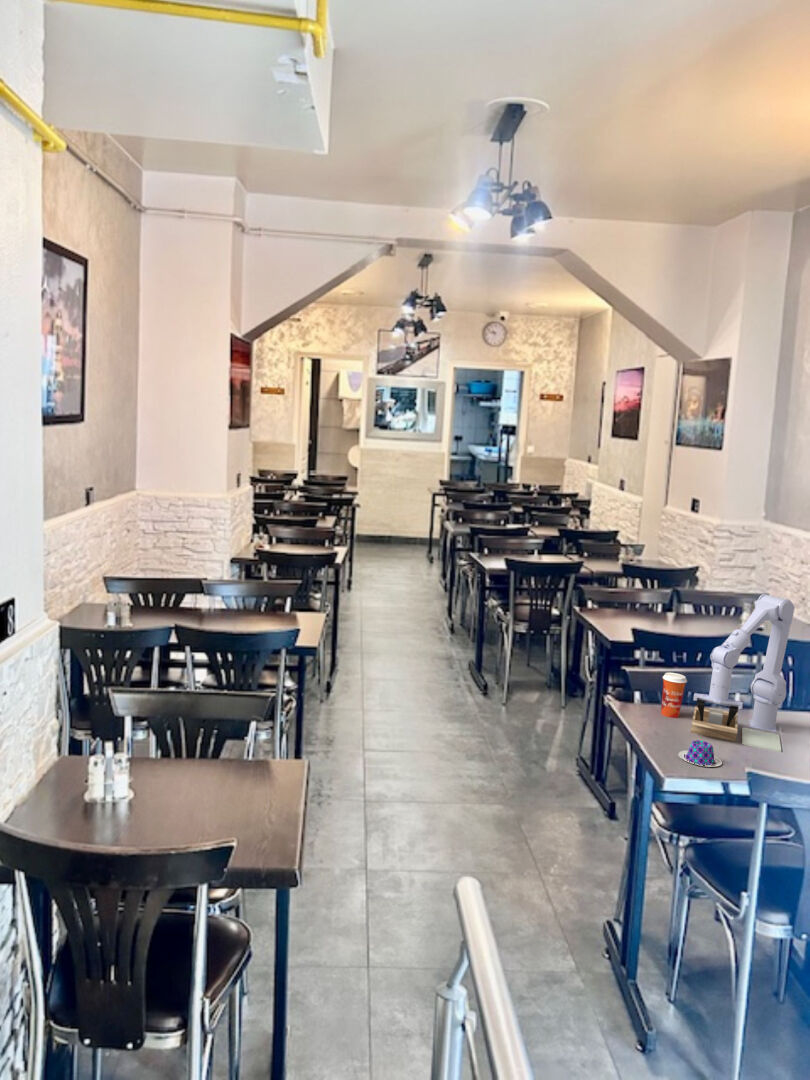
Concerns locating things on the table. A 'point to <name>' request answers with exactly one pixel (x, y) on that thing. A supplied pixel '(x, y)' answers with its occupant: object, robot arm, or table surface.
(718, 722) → the block
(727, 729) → the light wood shallow tray
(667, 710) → the paper cup
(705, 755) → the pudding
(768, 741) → the board
